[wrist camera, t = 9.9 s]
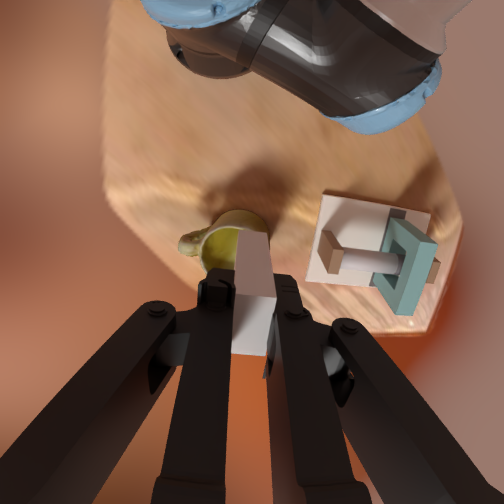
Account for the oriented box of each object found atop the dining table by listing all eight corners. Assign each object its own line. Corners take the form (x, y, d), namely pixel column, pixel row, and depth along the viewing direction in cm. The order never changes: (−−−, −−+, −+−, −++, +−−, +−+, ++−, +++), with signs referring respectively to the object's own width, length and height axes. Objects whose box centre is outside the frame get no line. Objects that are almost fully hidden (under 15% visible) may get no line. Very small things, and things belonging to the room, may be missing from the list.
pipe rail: (304, 278, 51) (313, 306, 44) (322, 193, 46) (336, 209, 38) (405, 288, 53) (425, 313, 45) (428, 213, 47) (455, 230, 40)
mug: (290, 212, 45) (274, 254, 37) (267, 263, 52) (249, 307, 44) (211, 179, 45) (179, 213, 38) (197, 232, 52) (169, 271, 44)
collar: (372, 281, 50) (395, 315, 41) (390, 217, 46) (420, 241, 37) (388, 282, 50) (412, 315, 41) (406, 220, 46) (438, 244, 37)
